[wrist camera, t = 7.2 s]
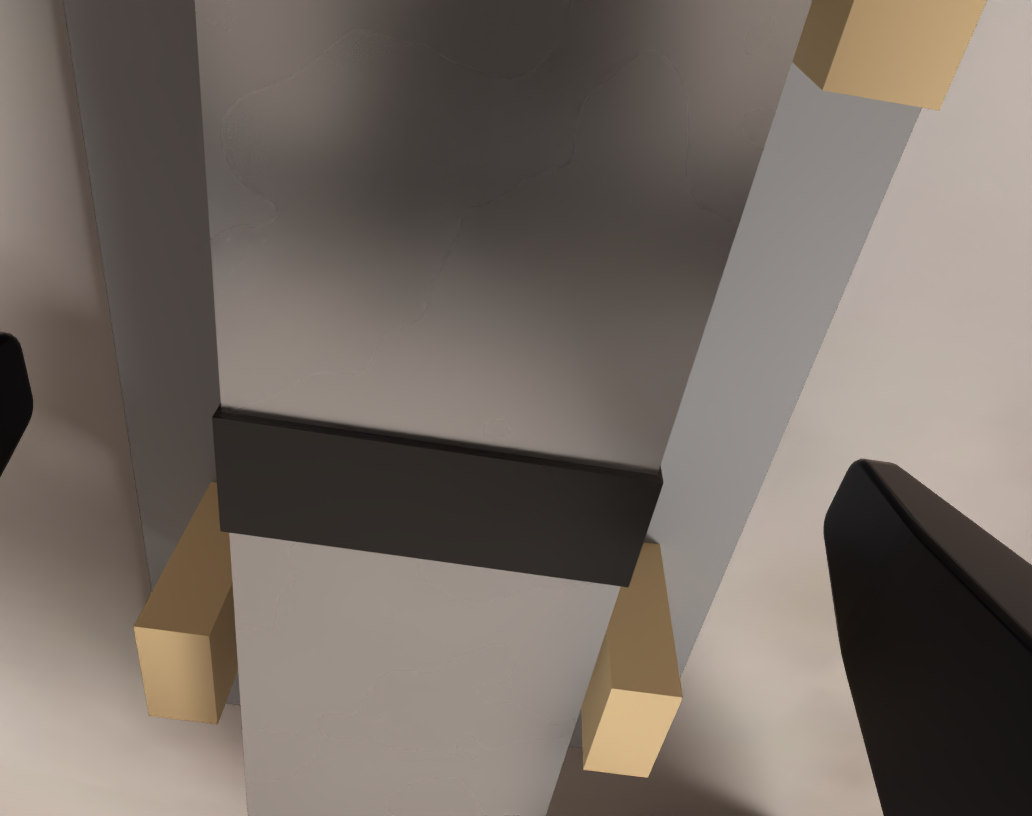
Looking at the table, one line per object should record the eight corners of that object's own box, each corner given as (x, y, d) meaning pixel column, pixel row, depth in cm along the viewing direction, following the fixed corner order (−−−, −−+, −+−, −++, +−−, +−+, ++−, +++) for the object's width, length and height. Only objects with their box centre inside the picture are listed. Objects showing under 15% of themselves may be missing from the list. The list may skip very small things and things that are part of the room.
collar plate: (642, 714, 18) (662, 908, 15) (185, 655, 18) (100, 843, 14) (1223, -739, 7) (1855, -1283, 3) (-24, -1031, 6) (-673, -2009, 3)
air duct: (534, 654, 15) (528, 885, 12) (313, 625, 15) (243, 851, 12) (792, -351, 7) (998, -515, 4) (331, -445, 7) (131, -700, 4)
